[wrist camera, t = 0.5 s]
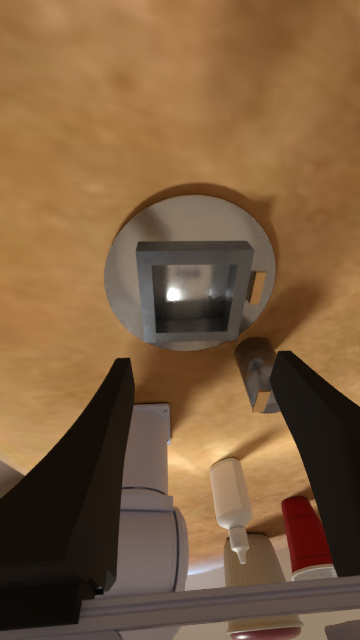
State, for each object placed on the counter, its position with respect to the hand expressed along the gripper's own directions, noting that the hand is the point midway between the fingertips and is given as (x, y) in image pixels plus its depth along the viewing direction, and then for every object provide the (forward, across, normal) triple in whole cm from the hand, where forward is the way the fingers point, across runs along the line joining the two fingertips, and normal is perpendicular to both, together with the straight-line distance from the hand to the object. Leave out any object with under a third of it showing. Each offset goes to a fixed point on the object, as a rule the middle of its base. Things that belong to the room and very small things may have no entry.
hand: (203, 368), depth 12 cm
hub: (+10, 0, +1) cm, 10 cm away
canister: (+11, -18, +83) cm, 86 cm away
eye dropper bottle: (+10, -7, +35) cm, 37 cm away
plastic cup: (+11, -24, +55) cm, 61 cm away
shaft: (+10, -7, +9) cm, 15 cm away
